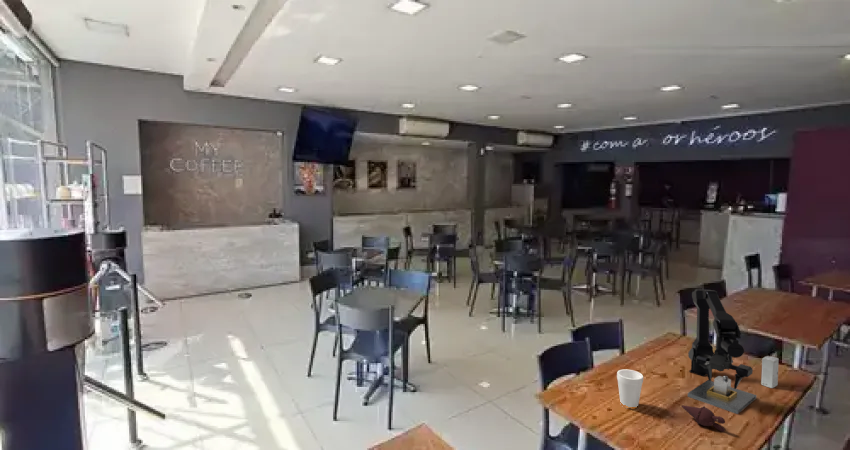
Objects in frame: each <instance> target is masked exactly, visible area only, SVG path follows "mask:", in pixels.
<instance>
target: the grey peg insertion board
mask: <svg viewBox="0 0 850 450" xmlns="http://www.w3.org/2000/svg"><path fill="white" fill-rule="evenodd" d="M687 397H688V398H690V399H694V400H696V401H699V402H702V403H705V404H707V405H710V406H713V407H715V408H718V409H722V410H724V411H728V412H730V413H733V414H736V415H739V413H741V412H742V411H743V410H744V409H747V407H748V406H750V405H751V404H752V403H754V402H755V400H757V394H754V393H751V392H747V391H744V390H741V389H738V388H736V389H734V387H732V386H731V391H730V396H729V397H727V396H724V395H721V394H718V393H715V392H714V380H713V381H712V380H711V381H709V379H707V380H705V381H704V382H703V383H701V384H700V385H698V386H697V387H695V388H693V389H692V390H690V391H688V392H687Z"/></svg>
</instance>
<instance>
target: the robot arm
mask: <svg viewBox="0 0 850 450" xmlns="http://www.w3.org/2000/svg"><path fill="white" fill-rule="evenodd" d="M691 299H692V302H693V303H694V305H695V307H696V336H695V337H696V338H695V339H694V341H693V342H692V343H691V347H690V349H689V351H688V353H687V354H688V355H687V356H688V358H689V359H690V362H691V364H690V370H689V372H690V373H693V374H696V375H698V376H702V377H705V376H706V377H707V380H709V381H712V377H713V376H712V375H713V370H716V371H719V372H724V371H725V370H727V371H728V370H733V371H735V374H734V377H735V379H734V385H733V388H734V389H738V387H739V384H740V382H741V381H742V380H743V378H744V379H745V378H748V377H750V376H751V375H753V368H752V366H749V365H745V364H742V363H741V364H739V365H736V364H734V359H733V358H737V359H738V358H741V357H742V356H743V355H744V352H745V348H744V347H743V345H742V344H741V343H739V342H740V341H739V340H738V339H741V335H742V333H741V330H740V327H739V325H738V322H737V321H736V320H735V318H734V317H733V316H732V315H731V314H729V313H727V311H726V309H725V307H724V305H723V303H722V301H721V299H720V297H719V292H718V290H717V291H716V290H714V289H713V290H711V289H697V288H695V289H694V290H692V292H691ZM710 311H711V313H712V315H713V318H714V319H713V322H712V326H713V329H714V331H715V335H716V337H715V350H714V348H713V346H712V344H711V343H710V341H709V331H710V330H709V329H710V328H709V327H710V326H709V325H710V324H709V323H710V320H709V319H710V318H709V317H710Z"/></svg>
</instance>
